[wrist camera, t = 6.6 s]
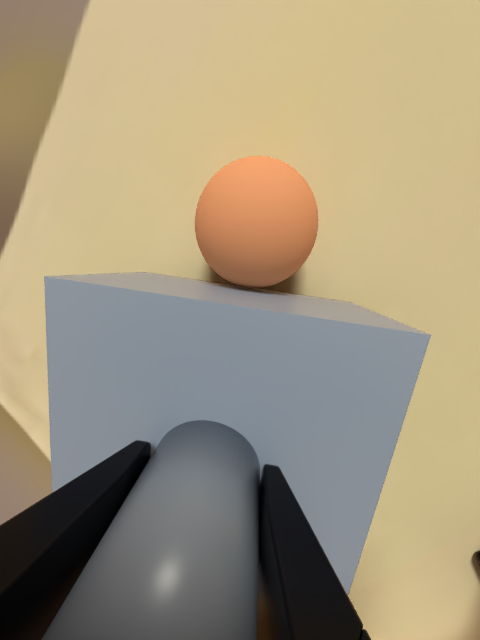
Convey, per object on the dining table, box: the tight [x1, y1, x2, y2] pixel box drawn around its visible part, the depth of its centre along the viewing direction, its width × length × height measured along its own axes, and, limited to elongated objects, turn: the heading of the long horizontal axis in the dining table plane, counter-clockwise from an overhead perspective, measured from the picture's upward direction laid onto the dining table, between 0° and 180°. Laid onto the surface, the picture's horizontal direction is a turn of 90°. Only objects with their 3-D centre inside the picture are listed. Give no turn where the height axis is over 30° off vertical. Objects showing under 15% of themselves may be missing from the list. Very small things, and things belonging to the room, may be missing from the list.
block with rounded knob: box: [41, 272, 431, 640], centre depth 8 cm, size 10×10×10 cm
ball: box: [195, 156, 318, 288], centre depth 10 cm, size 5×5×5 cm
